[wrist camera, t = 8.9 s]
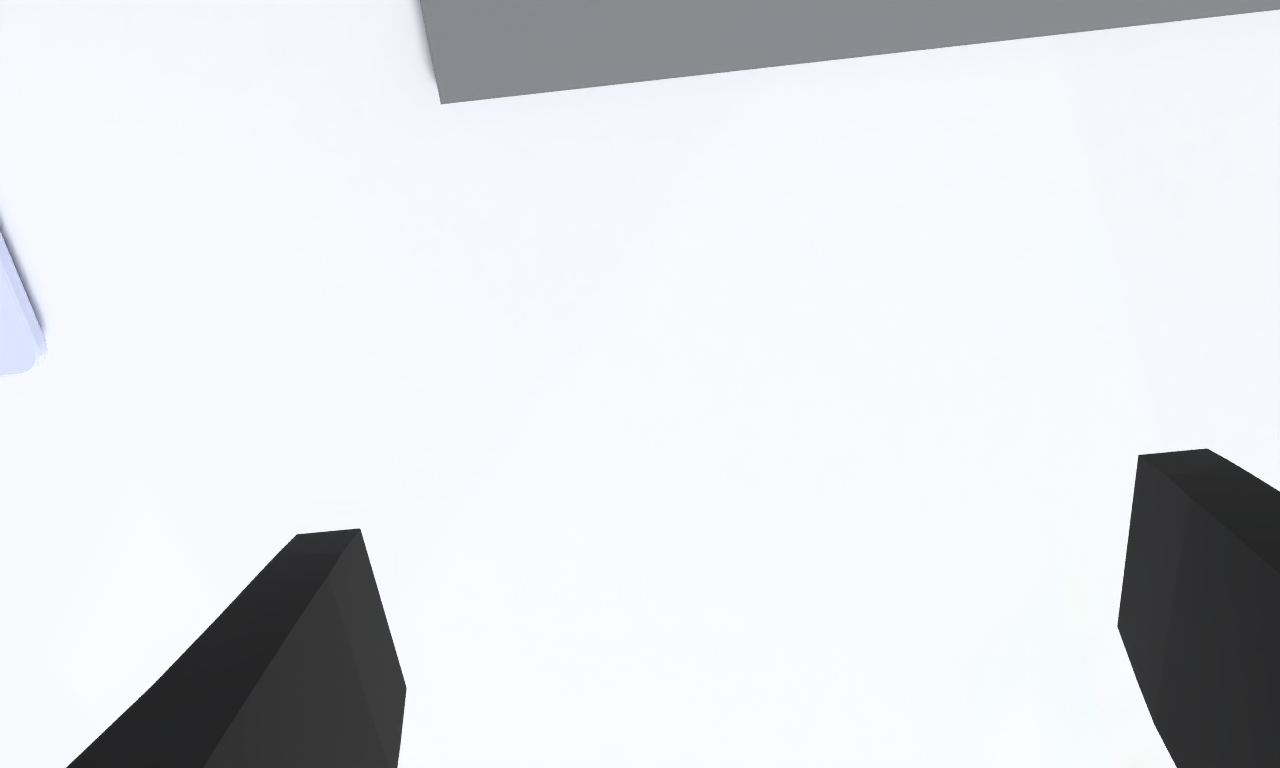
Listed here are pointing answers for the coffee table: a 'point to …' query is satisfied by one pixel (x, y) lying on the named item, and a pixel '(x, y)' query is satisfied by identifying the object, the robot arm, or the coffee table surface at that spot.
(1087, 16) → the mat
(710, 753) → the coffee table surface
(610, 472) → the coffee table surface
